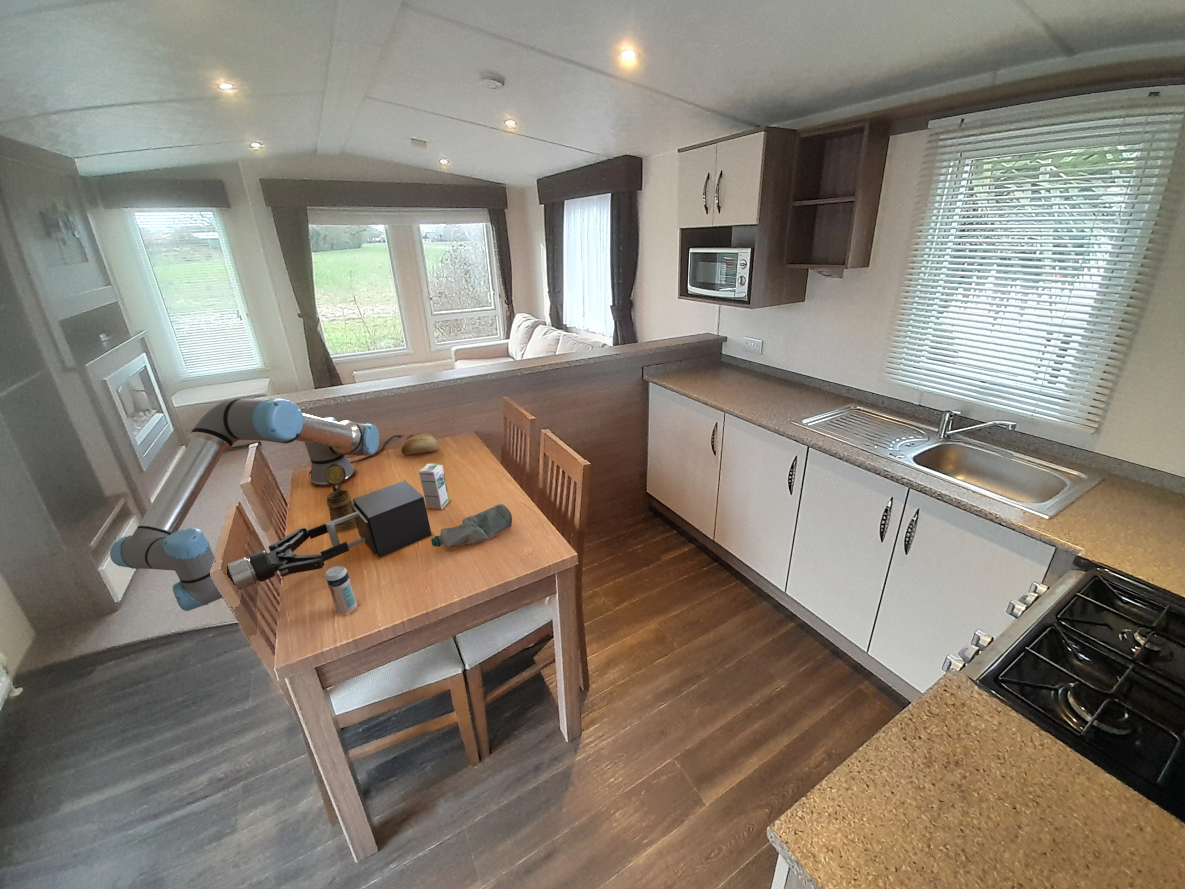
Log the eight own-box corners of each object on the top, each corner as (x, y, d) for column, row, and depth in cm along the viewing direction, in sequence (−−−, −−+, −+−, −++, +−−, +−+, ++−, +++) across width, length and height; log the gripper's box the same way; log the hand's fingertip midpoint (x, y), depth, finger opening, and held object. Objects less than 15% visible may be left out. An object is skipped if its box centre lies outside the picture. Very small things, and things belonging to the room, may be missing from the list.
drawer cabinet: (379, 558, 138) (368, 517, 132) (363, 537, 147) (352, 498, 141) (431, 535, 147) (423, 496, 141) (413, 517, 157) (405, 480, 151)
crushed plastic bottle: (501, 513, 157) (426, 539, 144) (500, 495, 154) (423, 520, 141) (520, 534, 148) (440, 564, 135) (519, 516, 144) (437, 545, 132)
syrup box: (442, 509, 160) (434, 472, 154) (426, 508, 162) (418, 470, 155) (449, 500, 166) (443, 463, 159) (434, 499, 167) (427, 462, 160)
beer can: (341, 602, 122) (329, 565, 117) (360, 600, 122) (349, 563, 117) (333, 616, 118) (320, 578, 113) (353, 614, 118) (341, 576, 113)
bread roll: (402, 451, 204) (398, 434, 200) (438, 444, 209) (435, 427, 205) (403, 460, 195) (399, 442, 192) (440, 453, 200) (437, 436, 197)
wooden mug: (361, 506, 164) (348, 460, 156) (361, 527, 152) (347, 478, 145) (333, 513, 161) (318, 465, 153) (330, 534, 149) (314, 484, 142)
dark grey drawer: (343, 569, 132) (332, 534, 127) (330, 548, 141) (319, 514, 136) (426, 533, 146) (418, 500, 141) (408, 516, 155) (401, 485, 150)
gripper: (249, 558, 133) (331, 528, 145) (267, 606, 116) (357, 566, 128) (240, 536, 130) (324, 507, 142) (256, 582, 113) (350, 544, 125)
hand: (340, 535), depth 135 cm, fingers open, 13 cm apart
